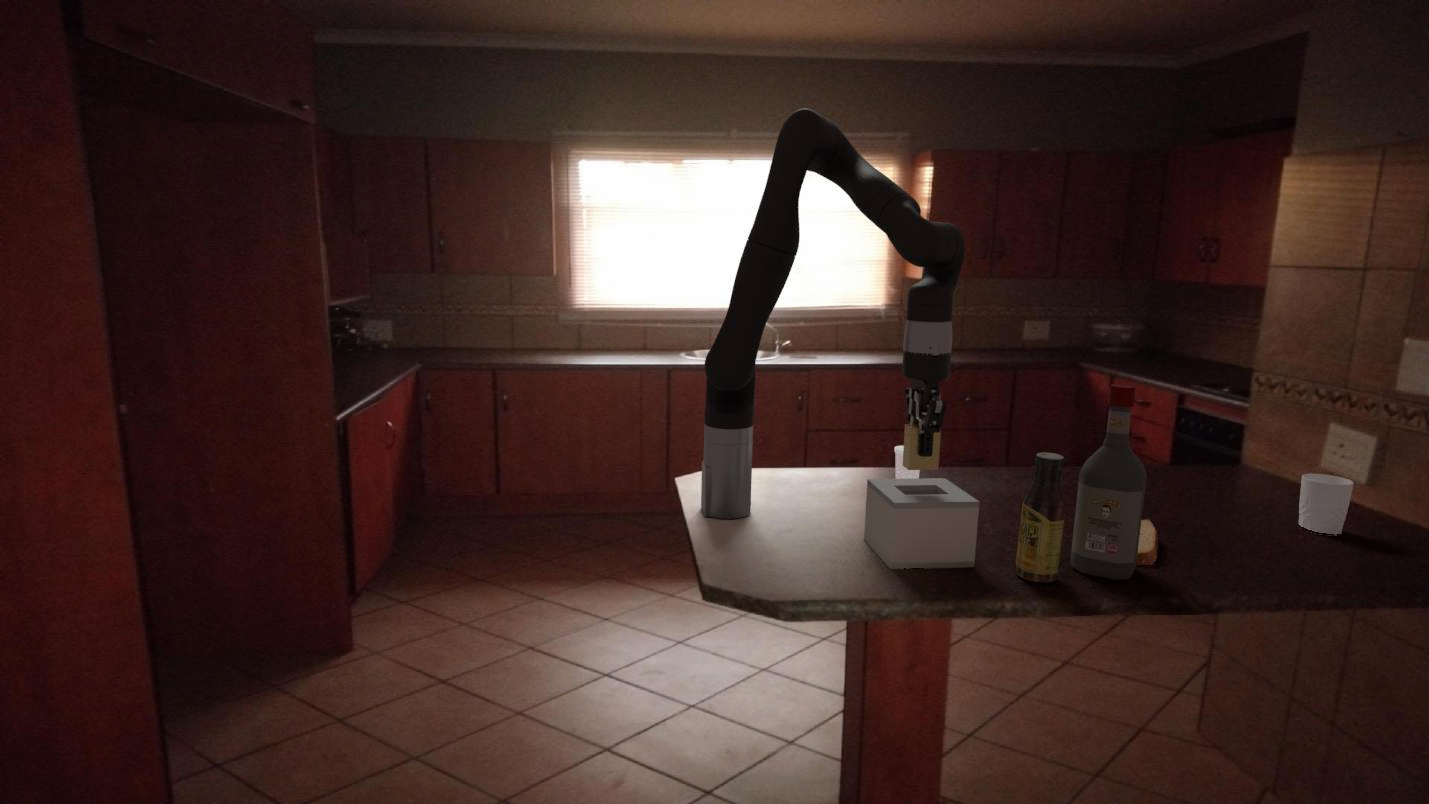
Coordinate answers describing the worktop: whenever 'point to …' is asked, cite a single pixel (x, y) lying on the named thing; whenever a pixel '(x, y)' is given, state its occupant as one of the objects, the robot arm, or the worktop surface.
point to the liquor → (1110, 498)
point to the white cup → (1324, 502)
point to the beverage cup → (900, 469)
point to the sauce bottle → (1042, 522)
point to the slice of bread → (1147, 544)
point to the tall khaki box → (911, 450)
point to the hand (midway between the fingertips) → (921, 453)
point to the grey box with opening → (921, 523)
